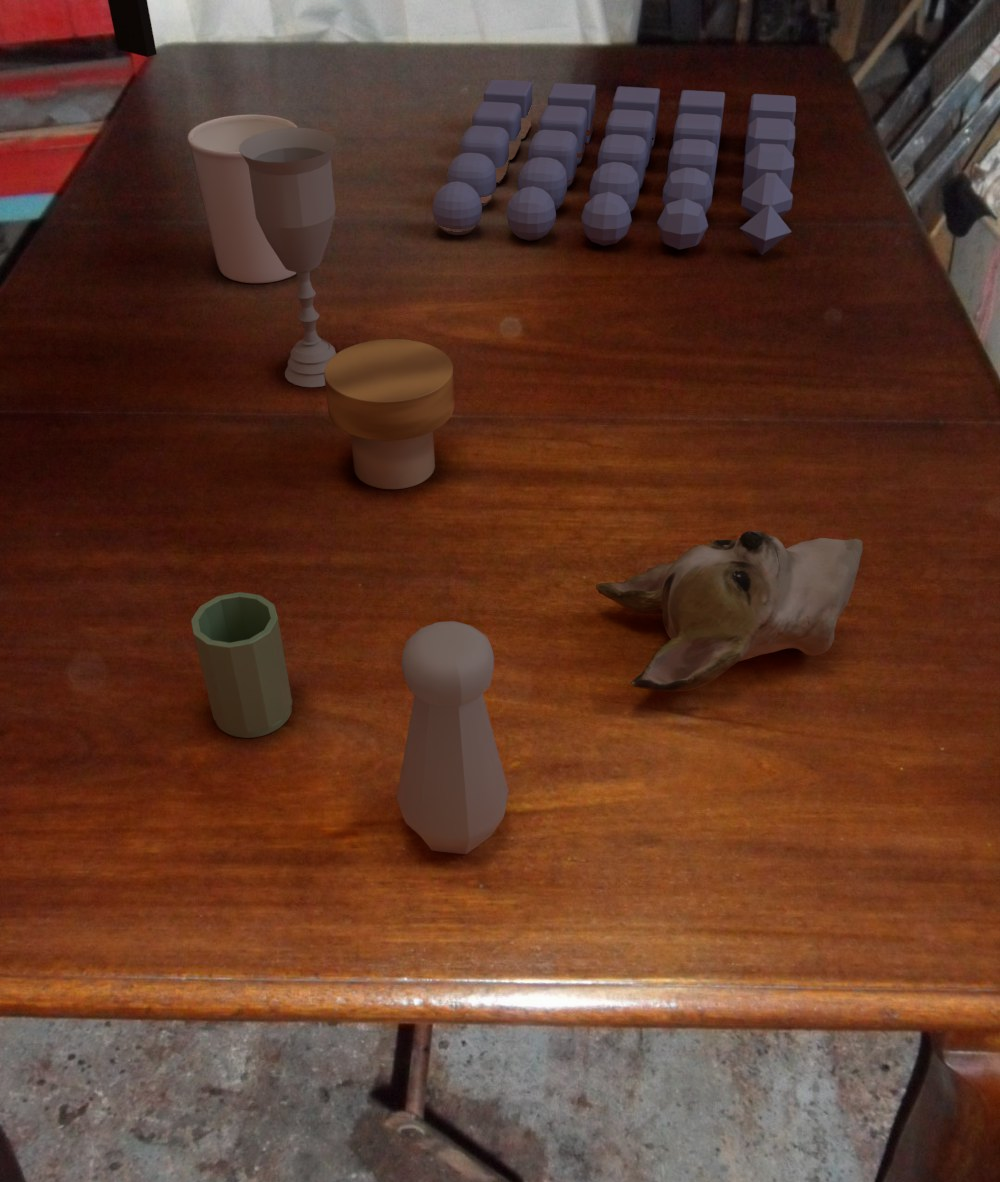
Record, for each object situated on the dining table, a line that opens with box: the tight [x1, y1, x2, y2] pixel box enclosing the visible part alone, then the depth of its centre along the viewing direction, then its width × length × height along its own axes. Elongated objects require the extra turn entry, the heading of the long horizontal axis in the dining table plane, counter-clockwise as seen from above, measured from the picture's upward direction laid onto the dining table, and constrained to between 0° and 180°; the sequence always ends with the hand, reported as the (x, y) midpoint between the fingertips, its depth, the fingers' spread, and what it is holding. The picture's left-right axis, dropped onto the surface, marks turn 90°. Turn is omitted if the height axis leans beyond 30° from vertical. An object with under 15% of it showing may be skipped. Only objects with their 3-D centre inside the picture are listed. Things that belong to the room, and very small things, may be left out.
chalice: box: [239, 127, 338, 388], centre depth 93 cm, size 7×7×18 cm
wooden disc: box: [324, 338, 455, 441], centre depth 84 cm, size 9×9×3 cm
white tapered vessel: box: [187, 114, 299, 284], centre depth 109 cm, size 10×10×12 cm
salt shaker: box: [395, 620, 510, 855], centre depth 59 cm, size 6×6×13 cm
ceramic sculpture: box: [595, 530, 864, 692], centre depth 71 cm, size 11×9×15 cm
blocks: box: [432, 78, 797, 256], centre depth 126 cm, size 35×34×5 cm
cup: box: [190, 591, 293, 739], centre depth 67 cm, size 5×5×7 cm
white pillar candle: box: [350, 431, 436, 490], centre depth 87 cm, size 6×6×5 cm
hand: (49, 81), depth 70 cm, fingers open, 13 cm apart
